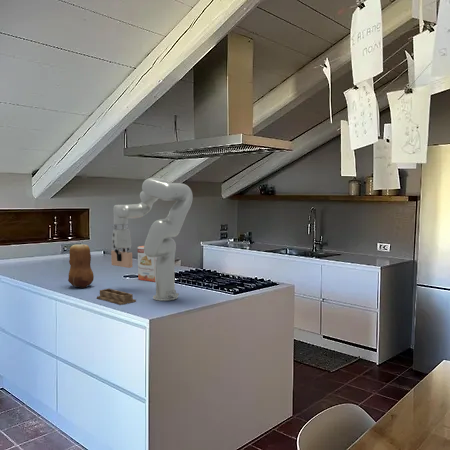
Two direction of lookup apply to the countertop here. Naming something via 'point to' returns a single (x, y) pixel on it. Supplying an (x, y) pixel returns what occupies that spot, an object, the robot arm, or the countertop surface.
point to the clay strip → (122, 259)
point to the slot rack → (116, 296)
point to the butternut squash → (80, 266)
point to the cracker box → (146, 266)
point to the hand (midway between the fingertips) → (121, 260)
